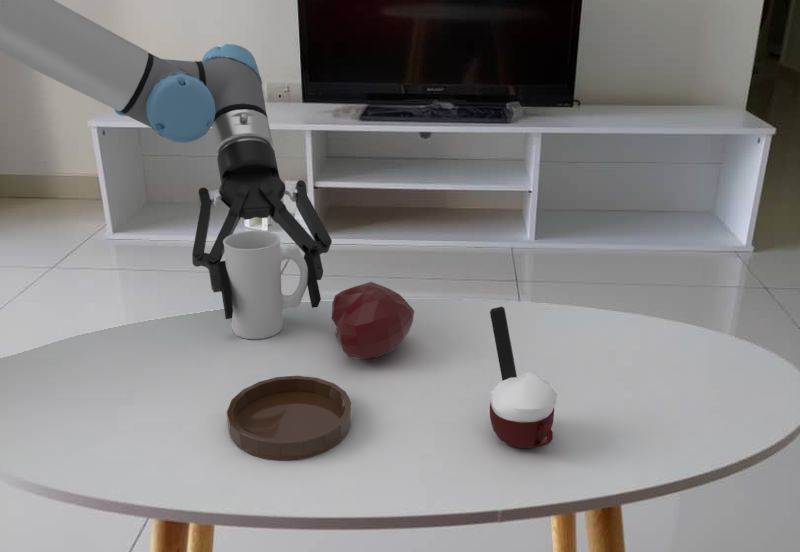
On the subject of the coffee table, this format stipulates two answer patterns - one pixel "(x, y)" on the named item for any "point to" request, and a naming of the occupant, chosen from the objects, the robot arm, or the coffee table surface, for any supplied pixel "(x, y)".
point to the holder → (289, 417)
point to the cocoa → (519, 396)
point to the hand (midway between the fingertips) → (273, 309)
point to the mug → (260, 282)
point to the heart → (370, 320)
